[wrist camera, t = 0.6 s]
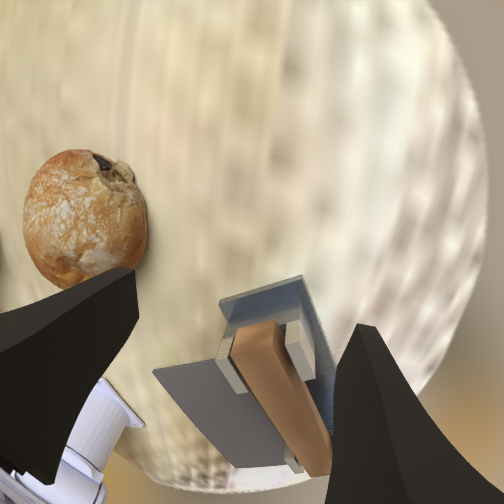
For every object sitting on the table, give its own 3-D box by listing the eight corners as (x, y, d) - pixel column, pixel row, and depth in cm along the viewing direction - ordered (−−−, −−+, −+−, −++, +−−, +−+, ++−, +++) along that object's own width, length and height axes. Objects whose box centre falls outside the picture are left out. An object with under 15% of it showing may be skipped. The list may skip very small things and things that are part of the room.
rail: (311, 456, 23) (310, 477, 21) (237, 328, 18) (229, 354, 16) (337, 451, 22) (337, 473, 20) (275, 318, 17) (271, 345, 15)
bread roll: (182, 199, 23) (161, 175, 15) (123, 314, 23) (80, 342, 15) (87, 148, 22) (40, 113, 14) (36, 254, 22) (-23, 255, 14)
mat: (236, 465, 31) (235, 468, 31) (153, 369, 26) (152, 372, 25) (299, 460, 29) (298, 462, 29) (231, 355, 24) (230, 358, 23)
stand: (296, 433, 27) (292, 478, 22) (220, 299, 22) (199, 349, 17) (354, 420, 25) (359, 467, 20) (302, 274, 20) (302, 324, 15)
